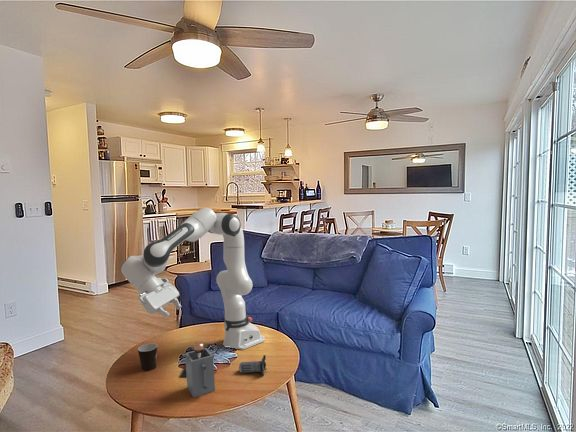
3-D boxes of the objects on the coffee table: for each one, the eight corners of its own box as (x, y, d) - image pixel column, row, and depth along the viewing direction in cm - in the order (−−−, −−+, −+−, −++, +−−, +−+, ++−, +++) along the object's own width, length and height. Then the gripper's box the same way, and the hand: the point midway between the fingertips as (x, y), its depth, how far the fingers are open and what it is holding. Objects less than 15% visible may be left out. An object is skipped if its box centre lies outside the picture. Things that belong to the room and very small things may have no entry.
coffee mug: (151, 373, 164) (150, 352, 163) (135, 371, 165) (133, 350, 165) (165, 361, 175) (164, 341, 174) (149, 359, 177) (148, 340, 176)
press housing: (207, 381, 155) (206, 347, 154) (217, 393, 145) (215, 358, 144) (187, 387, 151) (185, 353, 150) (195, 400, 141) (193, 364, 140)
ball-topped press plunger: (205, 370, 153) (203, 339, 152) (210, 377, 148) (208, 344, 147) (190, 375, 150) (188, 343, 149) (194, 382, 144) (193, 348, 143)
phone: (204, 359, 174) (197, 375, 159) (204, 361, 174) (197, 377, 159) (188, 360, 174) (179, 376, 159) (188, 362, 174) (179, 378, 159)
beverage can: (267, 371, 165) (241, 372, 166) (266, 354, 166) (240, 355, 167) (264, 378, 156) (237, 379, 157) (263, 359, 157) (236, 361, 158)
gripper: (141, 290, 139) (165, 316, 138) (168, 277, 159) (190, 299, 158) (131, 301, 140) (155, 326, 139) (160, 286, 160) (181, 308, 159)
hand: (174, 312), depth 149 cm, fingers open, 8 cm apart
